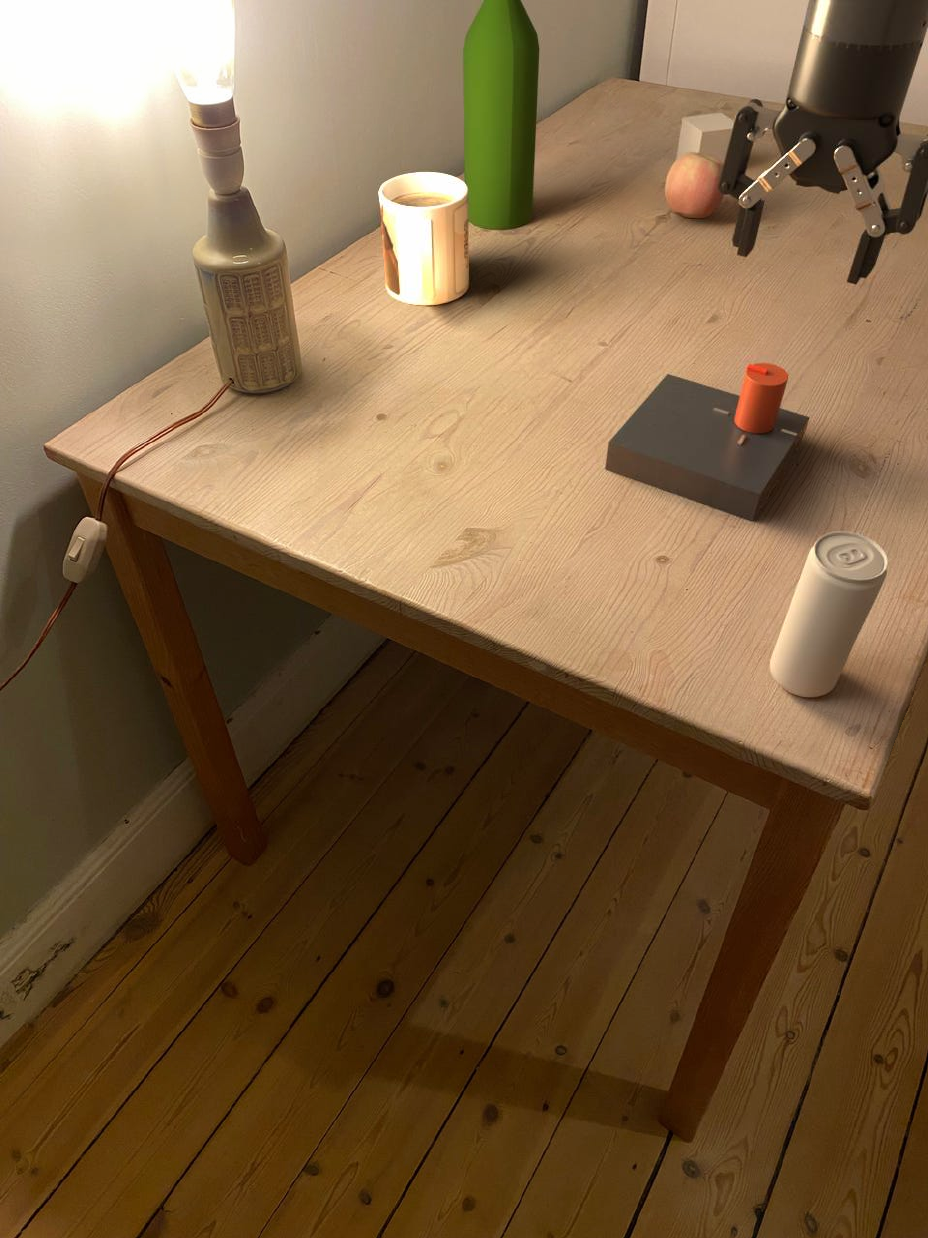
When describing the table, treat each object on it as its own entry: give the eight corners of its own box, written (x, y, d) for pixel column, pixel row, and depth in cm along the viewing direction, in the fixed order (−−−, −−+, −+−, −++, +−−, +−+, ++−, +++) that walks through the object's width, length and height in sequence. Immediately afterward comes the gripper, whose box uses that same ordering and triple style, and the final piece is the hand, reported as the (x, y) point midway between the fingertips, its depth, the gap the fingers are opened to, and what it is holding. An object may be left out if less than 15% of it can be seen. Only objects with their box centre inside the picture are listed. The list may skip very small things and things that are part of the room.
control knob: (780, 418, 83) (795, 366, 79) (766, 438, 81) (781, 386, 77) (742, 406, 84) (755, 355, 80) (728, 426, 82) (740, 374, 78)
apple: (725, 231, 116) (738, 166, 110) (664, 231, 116) (674, 166, 111) (714, 205, 122) (726, 141, 116) (657, 205, 122) (666, 141, 116)
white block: (694, 177, 128) (702, 131, 124) (675, 162, 132) (682, 117, 128) (733, 172, 129) (741, 126, 125) (713, 156, 133) (721, 111, 129)
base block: (802, 441, 86) (811, 413, 83) (752, 521, 78) (760, 492, 76) (664, 398, 91) (669, 370, 89) (604, 468, 83) (608, 440, 81)
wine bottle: (546, 214, 120) (563, -96, 97) (501, 236, 116) (507, -82, 92) (496, 195, 125) (500, -105, 101) (450, 216, 120) (444, -93, 96)
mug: (490, 281, 108) (491, 184, 100) (431, 324, 101) (427, 225, 93) (418, 258, 112) (413, 164, 104) (357, 299, 105) (347, 201, 97)
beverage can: (754, 663, 67) (795, 542, 58) (806, 642, 68) (854, 521, 60) (796, 711, 64) (846, 591, 55) (850, 688, 65) (908, 567, 57)
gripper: (738, 20, 59) (693, 263, 71) (971, 55, 54) (880, 310, 66) (775, -7, 63) (727, 226, 75) (994, 23, 58) (905, 268, 70)
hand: (798, 265), depth 70 cm, fingers open, 8 cm apart
